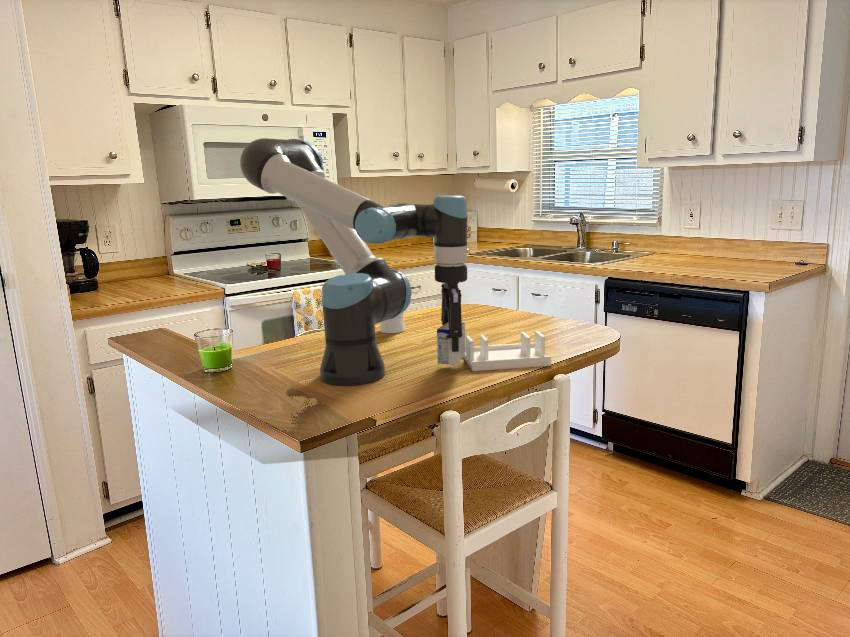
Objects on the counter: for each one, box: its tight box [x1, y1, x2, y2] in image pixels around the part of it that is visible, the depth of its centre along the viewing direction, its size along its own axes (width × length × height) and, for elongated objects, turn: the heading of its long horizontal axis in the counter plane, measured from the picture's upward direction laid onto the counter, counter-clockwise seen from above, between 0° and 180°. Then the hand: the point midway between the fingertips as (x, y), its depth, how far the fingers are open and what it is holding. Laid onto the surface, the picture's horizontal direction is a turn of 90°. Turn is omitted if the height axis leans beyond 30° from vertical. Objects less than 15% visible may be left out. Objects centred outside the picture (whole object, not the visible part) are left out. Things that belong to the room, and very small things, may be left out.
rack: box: [463, 330, 552, 372], centre depth 157 cm, size 19×14×6 cm
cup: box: [379, 311, 406, 334], centre depth 191 cm, size 11×11×15 cm
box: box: [436, 322, 466, 366], centre depth 150 cm, size 8×4×9 cm, turn 159°
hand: (451, 358), depth 151 cm, fingers closed on box, 9 cm apart
